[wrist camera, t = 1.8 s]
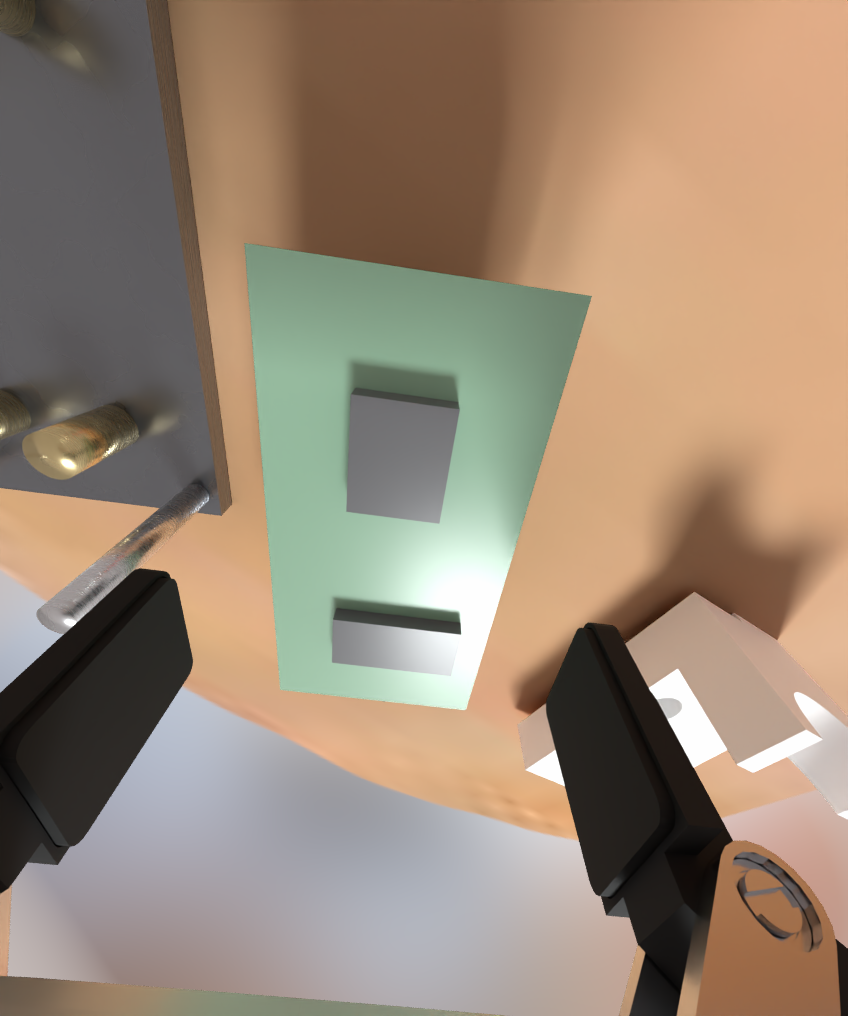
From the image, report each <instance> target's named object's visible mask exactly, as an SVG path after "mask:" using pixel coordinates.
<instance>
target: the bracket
mask: <svg viewBox="0 0 848 1016" xmlns="http://www.w3.org/2000/svg"><path fill="white" fill-rule="evenodd" d="M625 644H626V646H627V648H628V650H629V652H630V654H631V656H632V658H633V659H634V661H635V663H636V665H637V667H638V669H639V671H640V672H641V674H642V676H643V678H644V680H645V682H646V684H647V686H648V687H649V689H650V691H651V692H652V693H653V695H654V696H655V698H656V699H657V701H658V703H659V705H660V706H661V708H662V710H663V712H664V714H665V716H666V718H667V719H668V721H669V723H670V725H671V727H672V729H673V731H674V732H675V734H676V736H677V738H678V740H679V742H680V744H681V745H682V747H683V749H684V751H685V753H686V755H687V756H688V758H689V760H690V762H691V764H692V766H693V767H695V766H697V765H699V764H701V763H703V762H705V761H707V760H709V759H711V758H713V757H714V756H716V755H718V754H720V753H722V752H724V751H726V750H728V752H729V753H730V755H731V756H732V758H733V760H734V761H735V763H736V765H738V766H740V767H743V768H745V769H747V770H749V771H751V772H753V773H754V772H756V771H758V770H760V769H762V768H764V767H766V766H769V765H771V764H773V763H775V762H777V761H779V760H781V759H783V758H785V757H788V758H789V759H790V760H791V761H792V762H793V763H794V764H795V765H796V766H797V767H798V768H799V769H800V770H801V771H802V773H803V774H804V775H805V776H806V777H807V778H808V779H809V780H810V781H811V783H812V784H813V785H814V786H815V787H816V788H817V789H818V791H819V792H820V793H821V794H822V796H823V797H824V798H825V799H826V800H827V802H828V803H829V804H830V806H831V807H832V808H833V809H834V811H835V812H836V813H837V814H838V815H840V816H842V817H844V818H846V819H848V716H847V715H846V713H845V712H844V711H843V710H842V709H841V708H840V707H839V706H838V705H837V704H836V703H835V702H834V701H833V700H832V698H831V697H830V696H829V695H828V694H827V693H826V692H825V691H824V690H823V689H822V688H821V687H820V686H819V684H818V683H817V682H816V681H815V680H814V679H813V678H812V677H811V676H810V675H809V674H808V673H807V672H806V671H805V669H804V668H803V667H802V666H801V665H800V664H799V663H798V662H797V661H796V660H795V659H794V658H793V657H792V656H791V654H790V653H789V652H788V651H787V650H786V649H785V648H784V647H783V646H782V645H781V644H780V643H779V642H778V641H777V640H776V639H775V638H773V637H771V636H770V635H768V634H767V633H765V632H764V631H762V630H760V629H759V628H757V627H756V626H754V625H753V624H751V623H749V622H748V621H746V620H745V619H743V618H742V617H740V616H738V615H737V614H735V613H733V614H731V615H730V614H728V613H727V612H725V611H724V610H722V609H721V608H719V607H717V606H716V605H714V604H713V603H711V602H710V601H708V600H706V599H705V598H703V597H702V596H700V595H698V594H697V593H695V592H693V593H692V594H691V595H689V596H688V597H687V598H685V599H684V600H683V601H681V602H680V603H679V604H677V605H676V606H675V607H673V608H672V609H671V610H669V611H668V612H667V613H665V614H664V615H663V616H661V617H660V618H659V619H657V620H656V621H655V622H653V623H652V624H651V625H649V626H648V627H647V628H645V629H644V630H643V631H641V632H640V633H639V634H637V635H636V636H635V637H633V638H632V639H631V640H629V641H628V642H627V643H625ZM518 731H519V736H520V742H521V748H522V753H523V759H524V765H525V770H527V771H529V772H532V773H534V774H537V775H539V776H541V777H544V778H546V779H549V780H551V781H554V782H556V783H559V784H561V785H564V781H563V777H562V773H561V769H560V765H559V761H558V758H557V754H556V750H555V746H554V742H553V738H552V734H551V731H550V727H549V723H548V719H547V715H546V704H544V705H543V706H542V707H540V708H539V709H538V710H536V711H535V712H534V713H532V714H531V715H530V716H528V717H527V718H526V719H524V720H523V721H522V722H520V723H519V724H518ZM564 786H565V785H564Z"/></svg>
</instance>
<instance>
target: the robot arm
mask: <svg viewBox="0 0 848 1016" xmlns="http://www.w3.org/2000/svg"><path fill="white" fill-rule="evenodd" d="M192 665H193V658H192V653H191V648H190V644H189V639H188V634H187V629H186V625H185V620H184V615H183V610H182V606H181V601H180V596H179V591H178V587H177V583H176V581H175V580H174V579H171V578H170V575H169V574H168V573H167V572H165V571H158V570H149V569H141V568H139V569H135V570H134V571H133V572H131V573H130V574H129V575H128V576H127V577H126V578H125V579H124V580H122V581H121V582H120V583H119V584H118V585H117V586H116V587H115V588H114V589H113V590H112V591H110V592H109V593H108V594H107V595H106V596H105V597H104V598H103V599H102V600H101V601H100V602H98V603H97V604H96V605H95V606H94V607H93V608H92V609H91V610H90V611H89V612H88V613H87V614H85V615H84V616H83V617H82V618H81V619H80V620H79V621H78V622H77V623H76V624H75V625H73V626H72V627H71V628H70V629H69V630H68V631H67V632H66V633H65V634H64V635H63V636H62V637H60V638H59V639H58V640H57V641H56V642H55V643H54V644H53V645H52V646H51V647H50V648H48V649H47V650H46V651H45V652H44V653H43V654H42V655H41V656H40V657H39V658H38V659H37V660H35V661H34V662H33V663H32V664H31V665H30V666H29V667H28V668H27V669H26V670H25V671H24V672H22V673H21V674H20V675H19V676H18V677H17V678H16V679H15V680H14V681H13V682H12V683H10V684H9V685H8V686H7V687H6V688H5V689H4V690H3V691H2V692H1V693H0V1016H503V1015H492V1014H479V1013H469V1012H456V1011H445V1010H434V1009H423V1008H410V1007H399V1006H386V1005H375V1004H362V1003H350V1002H337V1001H325V1000H314V999H301V998H288V997H276V996H264V995H251V994H239V993H226V992H213V991H202V990H189V989H175V988H162V987H149V986H136V985H123V984H110V983H96V982H82V981H70V980H57V979H44V978H30V977H12V976H7V973H8V953H9V934H10V913H11V892H12V883H13V882H14V880H15V879H16V877H17V876H18V875H19V873H20V872H21V871H22V869H23V868H24V866H25V865H26V864H27V862H30V863H42V864H52V865H58V864H59V862H60V861H61V859H62V858H63V856H64V854H65V853H66V852H67V850H68V849H69V847H70V846H75V845H76V844H78V843H79V842H80V841H81V840H82V839H83V838H84V836H85V835H86V834H87V832H88V831H89V829H90V828H91V826H92V824H93V823H94V821H95V820H96V818H97V817H98V815H99V814H100V812H101V811H102V809H103V807H104V806H105V804H106V803H107V801H108V800H109V798H110V797H111V795H112V794H113V792H114V791H115V789H116V787H117V786H118V784H119V783H120V781H121V779H122V778H123V777H124V775H125V773H126V772H127V770H128V769H129V767H130V766H131V764H132V763H133V761H134V759H135V758H136V756H137V755H138V753H139V752H140V750H141V749H142V747H143V746H144V744H145V743H146V741H147V739H148V738H149V736H150V735H151V733H152V732H153V730H154V728H155V727H156V725H157V724H158V722H159V721H160V719H161V718H162V716H163V715H164V713H165V712H166V710H167V708H168V707H169V705H170V704H171V702H172V701H173V699H174V698H175V696H176V694H177V693H178V691H179V690H180V688H181V687H182V685H183V684H184V682H185V681H186V679H187V677H188V676H189V674H190V672H191V669H192ZM546 715H547V719H548V723H549V727H550V731H551V734H552V738H553V742H554V746H555V750H556V754H557V758H558V761H559V765H560V769H561V773H562V777H563V781H564V785H565V788H566V792H567V796H568V800H569V804H570V808H571V812H572V815H573V819H574V823H575V827H576V831H577V835H578V838H579V842H580V846H581V850H582V854H583V858H584V862H585V865H586V869H587V873H588V877H589V881H590V884H591V886H592V889H593V891H594V892H595V894H596V895H598V896H601V898H602V902H603V905H604V909H605V913H606V915H608V916H619V917H629V918H630V920H631V924H632V927H633V930H634V933H635V936H636V940H637V943H638V946H637V950H636V954H635V957H634V961H633V965H632V968H631V972H630V976H629V979H628V983H627V987H626V990H625V994H624V997H623V1001H622V1005H621V1008H620V1012H619V1016H848V949H847V948H846V947H845V946H844V945H843V944H841V943H840V942H839V941H838V940H837V939H835V935H834V931H833V927H832V925H831V922H830V920H829V918H828V916H827V914H826V912H825V910H824V907H823V906H822V904H821V903H820V902H819V900H818V898H817V897H816V896H815V894H814V893H813V891H812V890H811V888H810V887H809V886H808V885H807V884H806V882H805V881H804V880H803V879H802V878H801V877H800V876H799V875H798V874H797V872H795V870H794V869H792V868H791V867H790V866H789V865H788V864H787V863H785V862H784V861H783V860H782V859H781V858H779V857H778V856H777V855H775V854H774V853H772V852H770V851H769V850H767V849H765V848H764V847H762V846H760V845H757V844H754V843H751V842H748V841H733V840H732V838H731V836H730V834H729V833H728V831H727V829H726V827H725V825H724V823H723V821H722V819H721V818H720V816H719V814H718V812H717V810H716V808H715V807H714V805H713V803H712V801H711V799H710V797H709V795H708V794H707V792H706V790H705V788H704V786H703V784H702V782H701V781H700V779H699V777H698V775H697V773H696V771H695V769H694V768H693V766H692V764H691V762H690V760H689V758H688V756H687V755H686V753H685V751H684V749H683V747H682V745H681V744H680V742H679V740H678V738H677V736H676V734H675V732H674V731H673V729H672V727H671V725H670V723H669V721H668V719H667V718H666V716H665V714H664V712H663V710H662V708H661V706H660V705H659V703H658V701H657V699H656V698H655V696H654V695H653V693H652V692H651V691H650V689H649V687H648V686H647V684H646V682H645V680H644V678H643V676H642V674H641V672H640V671H639V669H638V667H637V665H636V663H635V661H634V659H633V658H632V656H631V654H630V652H629V650H628V648H627V646H626V644H625V643H624V641H623V639H622V637H621V635H620V633H619V631H618V630H617V628H616V627H614V626H613V625H605V624H597V623H587V624H586V625H585V626H584V628H579V629H578V630H577V632H576V634H575V636H574V638H573V641H572V643H571V645H570V648H569V650H568V652H567V654H566V657H565V659H564V661H563V664H562V666H561V668H560V671H559V673H558V675H557V677H556V680H555V682H554V684H553V687H552V689H551V691H550V694H549V696H548V698H547V701H546Z"/></svg>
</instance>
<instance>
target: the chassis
mask: <svg viewBox="0 0 848 1016" xmlns="http://www.w3.org/2000/svg"><path fill="white" fill-rule="evenodd" d="M0 488H5V489H13V490H21V491H29V492H37V493H45V494H53V495H61V496H69V497H77V498H85V499H93V500H101V501H109V502H117V503H125V504H133V505H140V506H148V507H156V508H160V509H158V510H157V511H156V512H155V513H154V514H152V515H151V516H150V517H149V518H148V519H146V520H145V521H144V522H143V523H142V524H140V525H139V526H138V527H137V528H136V529H134V530H133V531H132V532H131V533H130V534H128V535H127V536H126V537H125V538H124V539H122V540H121V541H120V542H119V543H118V544H116V545H115V546H114V547H113V548H112V549H110V550H109V551H108V552H107V553H106V554H104V555H103V556H102V557H101V558H100V559H98V560H97V561H96V562H95V563H94V564H92V565H91V566H90V567H89V568H88V569H86V570H85V571H84V572H83V573H82V574H80V575H79V576H78V577H77V578H76V579H74V580H73V581H72V582H71V583H70V584H68V585H67V586H66V587H65V588H64V589H62V590H61V591H60V592H59V593H58V594H56V595H55V596H54V597H53V598H52V599H50V600H49V601H48V602H47V603H46V604H44V605H43V606H42V607H41V608H40V609H38V611H37V618H38V620H39V621H40V622H41V623H42V624H43V625H44V626H45V627H47V628H48V629H50V630H52V631H54V632H57V633H61V634H65V633H66V632H67V631H68V630H69V629H70V628H71V627H72V626H73V625H75V624H76V623H77V622H78V621H79V620H80V619H81V618H82V617H83V616H84V615H85V614H87V613H88V612H89V611H90V610H91V609H92V608H93V607H94V606H95V605H96V604H97V603H98V602H100V601H101V600H102V599H103V598H104V597H105V596H106V595H107V594H108V593H109V592H110V591H112V590H113V589H114V588H115V587H116V586H117V585H118V584H119V583H120V582H121V581H122V580H124V579H125V578H126V577H127V576H128V575H129V574H130V573H131V572H133V571H134V570H135V569H139V568H141V567H142V566H143V565H144V564H145V563H146V562H147V561H148V560H149V559H150V558H151V557H152V556H153V555H154V554H155V553H156V552H157V551H158V550H159V549H160V548H161V547H162V546H163V545H164V544H165V543H166V542H167V541H168V540H169V539H170V538H171V537H172V536H173V535H175V534H176V533H177V532H178V531H179V530H180V529H181V528H182V527H183V526H184V525H185V524H186V523H187V522H188V521H189V520H190V519H191V518H192V517H193V516H194V515H195V514H196V513H204V514H212V515H220V516H222V515H223V513H224V512H225V511H226V510H227V509H228V508H229V507H230V506H231V505H232V501H231V493H230V485H229V477H228V470H227V462H226V454H225V447H224V439H223V431H222V423H221V416H220V408H219V400H218V392H217V385H216V377H215V369H214V361H213V354H212V346H211V338H210V331H209V323H208V315H207V307H206V300H205V292H204V284H203V276H202V269H201V261H200V253H199V245H198V238H197V230H196V222H195V215H194V207H193V199H192V191H191V184H190V176H189V168H188V160H187V153H186V145H185V137H184V129H183V122H182V114H181V106H180V99H179V91H178V83H177V75H176V68H175V60H174V52H173V44H172V37H171V29H170V21H169V13H168V6H167V0H0Z"/></svg>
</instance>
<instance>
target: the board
mask: <svg viewBox="0 0 848 1016" xmlns="http://www.w3.org/2000/svg"><path fill="white" fill-rule="evenodd" d="M244 244H245V256H246V269H247V281H248V294H249V306H250V318H251V331H252V343H253V356H254V368H255V381H256V393H257V406H258V418H259V430H260V443H261V455H262V468H263V480H264V493H265V505H266V518H267V530H268V543H269V555H270V567H271V580H272V592H273V605H274V617H275V630H276V642H277V655H278V667H279V679H280V690H287V691H296V692H305V693H314V694H323V695H333V696H342V697H351V698H360V699H369V700H378V701H387V702H397V703H406V704H415V705H424V706H433V707H442V708H451V709H460V710H466V708H467V704H468V701H469V698H470V694H471V691H472V688H473V685H474V681H475V678H476V675H477V672H478V668H479V665H480V662H481V658H482V655H483V652H484V649H485V645H486V642H487V639H488V635H489V632H490V629H491V626H492V622H493V619H494V616H495V612H496V609H497V606H498V603H499V599H500V596H501V593H502V589H503V586H504V583H505V580H506V576H507V573H508V570H509V566H510V563H511V560H512V557H513V553H514V550H515V547H516V543H517V540H518V537H519V534H520V530H521V527H522V524H523V520H524V517H525V514H526V511H527V507H528V504H529V501H530V498H531V494H532V491H533V488H534V484H535V481H536V478H537V475H538V471H539V468H540V465H541V461H542V458H543V455H544V452H545V448H546V445H547V442H548V438H549V435H550V432H551V429H552V425H553V422H554V419H555V415H556V412H557V409H558V406H559V402H560V399H561V396H562V392H563V389H564V386H565V383H566V379H567V376H568V373H569V369H570V366H571V363H572V360H573V356H574V353H575V350H576V346H577V343H578V340H579V337H580V333H581V330H582V327H583V323H584V320H585V317H586V314H587V310H588V307H589V304H590V301H591V297H592V296H587V295H581V294H574V293H568V292H561V291H555V290H548V289H541V288H535V287H528V286H522V285H515V284H509V283H502V282H496V281H489V280H483V279H476V278H470V277H463V276H456V275H450V274H443V273H437V272H430V271H424V270H417V269H411V268H404V267H398V266H391V265H385V264H378V263H371V262H365V261H358V260H352V259H345V258H339V257H332V256H326V255H319V254H313V253H306V252H300V251H293V250H286V249H280V248H273V247H267V246H260V245H254V244H247V243H244Z"/></svg>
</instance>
